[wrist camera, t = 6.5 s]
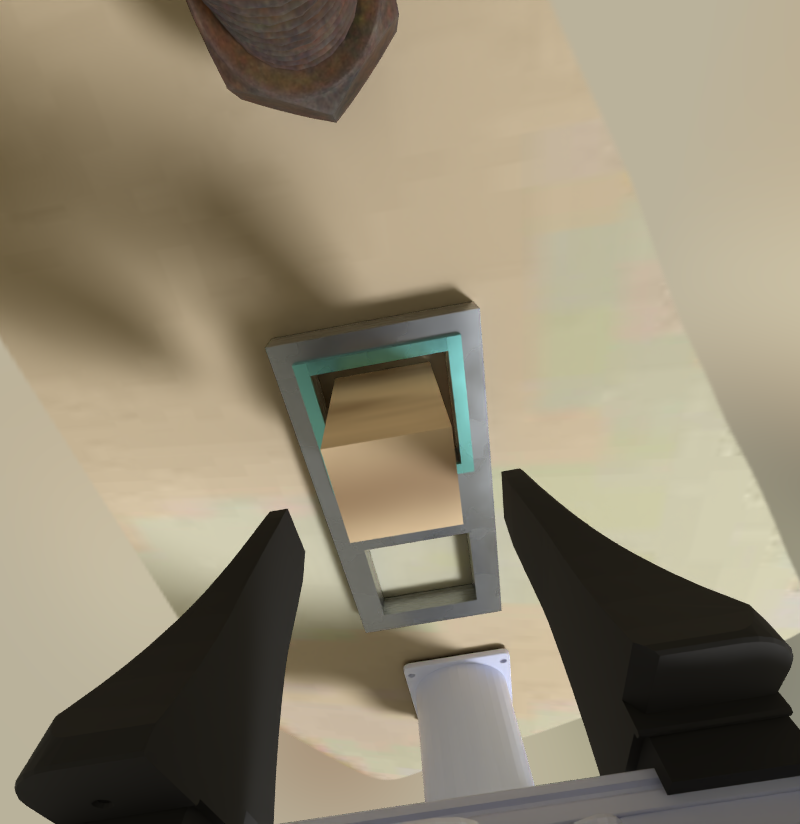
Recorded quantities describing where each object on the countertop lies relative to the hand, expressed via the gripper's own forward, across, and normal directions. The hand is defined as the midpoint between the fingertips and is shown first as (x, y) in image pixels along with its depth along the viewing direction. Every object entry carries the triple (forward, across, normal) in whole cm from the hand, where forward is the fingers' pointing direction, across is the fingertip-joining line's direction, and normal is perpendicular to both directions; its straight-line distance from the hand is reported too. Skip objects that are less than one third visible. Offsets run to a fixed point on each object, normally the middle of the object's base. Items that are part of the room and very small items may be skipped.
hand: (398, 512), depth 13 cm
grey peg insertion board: (+7, 0, +5) cm, 9 cm away
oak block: (+7, 0, 0) cm, 7 cm away
